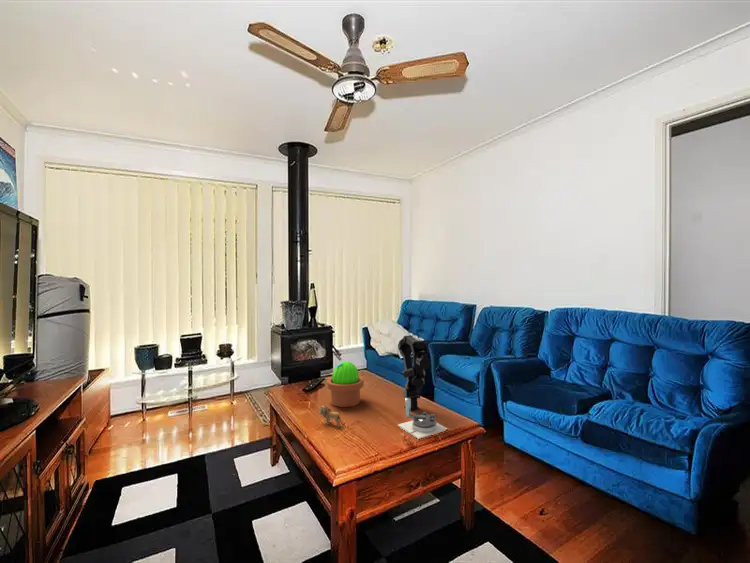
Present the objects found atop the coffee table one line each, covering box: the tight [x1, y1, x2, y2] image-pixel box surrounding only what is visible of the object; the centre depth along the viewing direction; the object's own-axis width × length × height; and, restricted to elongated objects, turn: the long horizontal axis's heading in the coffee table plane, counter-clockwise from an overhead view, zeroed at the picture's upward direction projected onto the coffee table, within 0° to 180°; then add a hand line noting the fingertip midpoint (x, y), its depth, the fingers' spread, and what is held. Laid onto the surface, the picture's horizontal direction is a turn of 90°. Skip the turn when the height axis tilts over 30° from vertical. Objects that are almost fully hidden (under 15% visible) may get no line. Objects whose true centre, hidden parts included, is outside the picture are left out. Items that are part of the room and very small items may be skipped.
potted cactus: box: [326, 360, 365, 408], centre depth 212 cm, size 22×22×25 cm
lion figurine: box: [318, 405, 346, 429], centre depth 181 cm, size 15×5×9 cm, turn 66°
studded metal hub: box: [404, 398, 437, 428], centre depth 175 cm, size 15×11×12 cm
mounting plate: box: [397, 419, 448, 440], centre depth 175 cm, size 17×18×3 cm
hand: (418, 393), depth 189 cm, fingers closed
